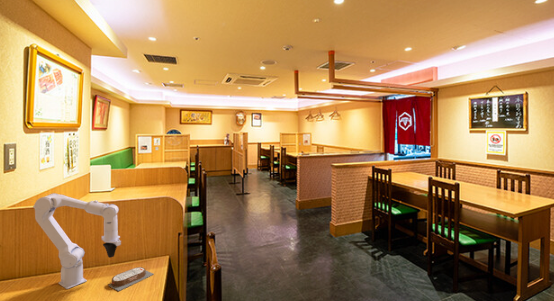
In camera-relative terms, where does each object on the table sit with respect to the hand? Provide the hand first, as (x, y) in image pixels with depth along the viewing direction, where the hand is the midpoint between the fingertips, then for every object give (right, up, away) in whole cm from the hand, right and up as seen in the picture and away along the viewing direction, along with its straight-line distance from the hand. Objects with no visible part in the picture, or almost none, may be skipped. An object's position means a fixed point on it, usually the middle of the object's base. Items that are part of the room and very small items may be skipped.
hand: (111, 256), depth 124 cm
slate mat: (+11, -11, -2) cm, 16 cm away
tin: (+7, -8, +1) cm, 11 cm away
